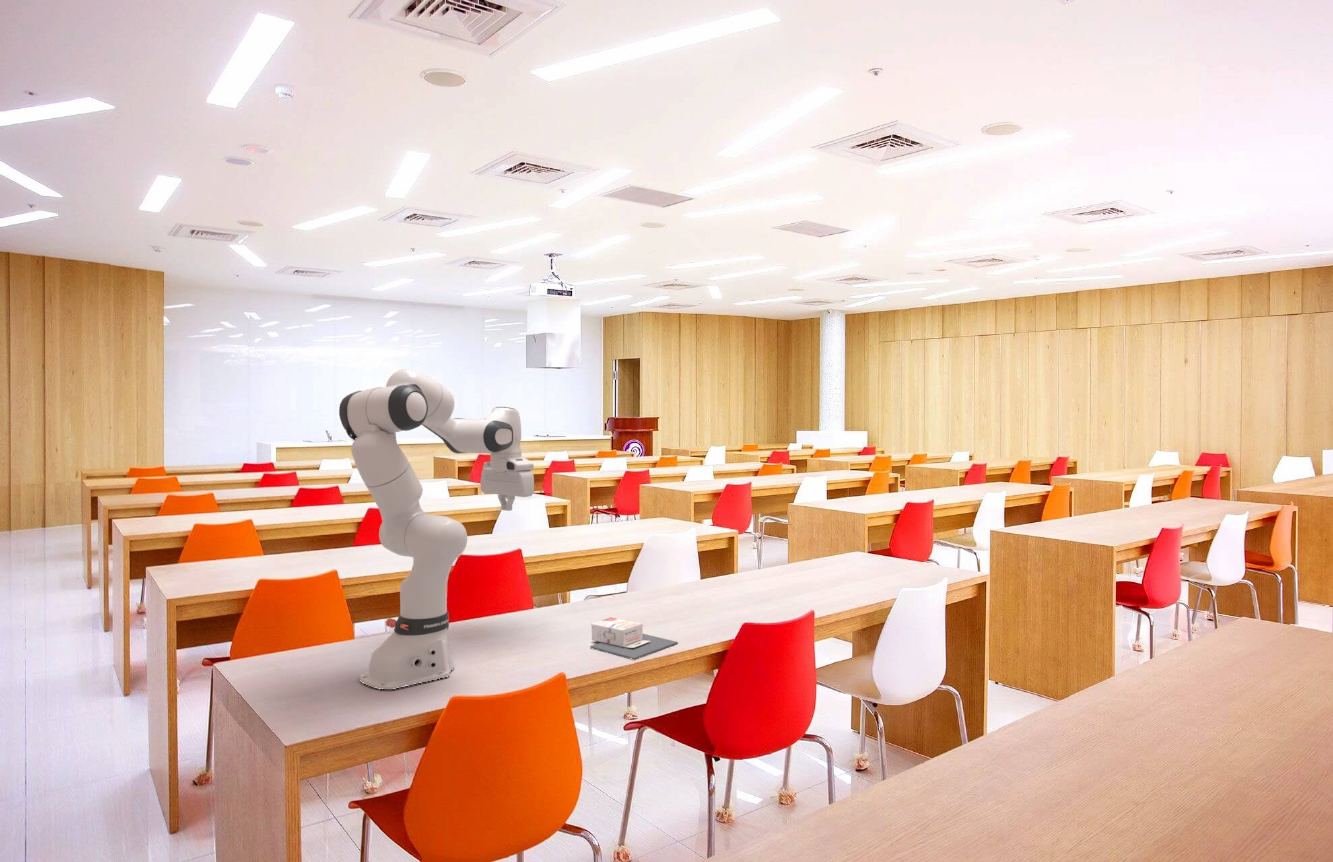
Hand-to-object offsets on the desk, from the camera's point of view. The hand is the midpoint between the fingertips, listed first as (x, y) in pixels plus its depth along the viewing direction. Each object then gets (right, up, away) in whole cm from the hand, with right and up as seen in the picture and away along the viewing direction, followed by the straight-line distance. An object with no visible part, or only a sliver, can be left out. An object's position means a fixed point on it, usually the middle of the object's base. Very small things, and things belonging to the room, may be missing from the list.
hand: (506, 510), depth 236 cm
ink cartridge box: (+28, -32, -8) cm, 43 cm away
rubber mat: (+38, -36, -14) cm, 54 cm away
